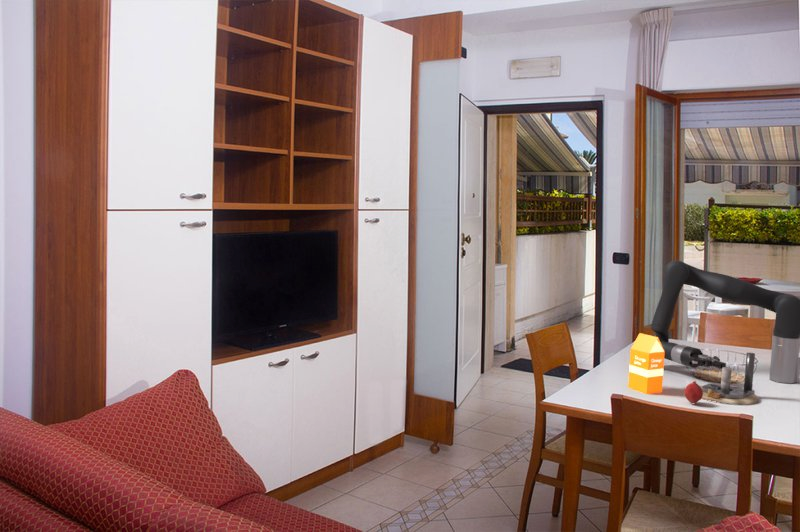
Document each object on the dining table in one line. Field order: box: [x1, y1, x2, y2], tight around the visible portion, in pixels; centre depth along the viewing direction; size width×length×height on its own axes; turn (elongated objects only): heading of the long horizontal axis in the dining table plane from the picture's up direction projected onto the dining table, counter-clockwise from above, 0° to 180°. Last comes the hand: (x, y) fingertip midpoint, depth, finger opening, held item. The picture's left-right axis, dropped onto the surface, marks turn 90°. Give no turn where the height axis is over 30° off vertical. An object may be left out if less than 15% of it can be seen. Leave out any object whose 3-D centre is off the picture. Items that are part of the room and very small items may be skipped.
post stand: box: [699, 366, 759, 406], centre depth 251 cm, size 21×21×10 cm
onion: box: [683, 380, 703, 404], centre depth 241 cm, size 6×6×8 cm
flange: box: [701, 352, 756, 399], centre depth 250 cm, size 15×18×14 cm
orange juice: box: [627, 332, 665, 395], centre depth 256 cm, size 8×9×20 cm
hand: (724, 366), depth 260 cm, fingers closed
